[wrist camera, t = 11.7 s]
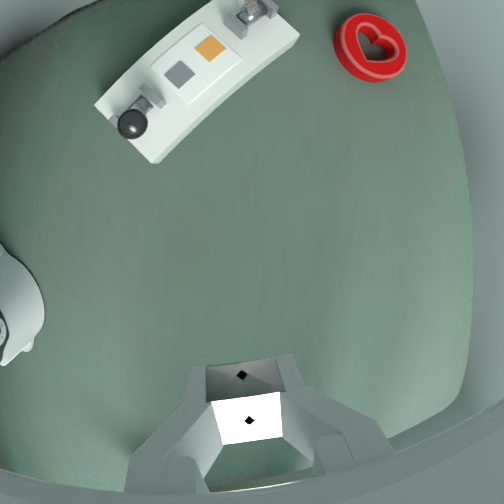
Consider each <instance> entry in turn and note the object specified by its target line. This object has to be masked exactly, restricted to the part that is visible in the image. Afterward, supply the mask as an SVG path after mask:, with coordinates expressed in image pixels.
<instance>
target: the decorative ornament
mask: <svg viewBox="0 0 504 504" xmlns="http://www.w3.org/2000/svg"><path fill="white" fill-rule="evenodd" d="M358 32H361V33H363V34H365V35H366V36H367V37H368V39H369V40H370V43H371V44H377V45H379V46H381V47H382V48H383V49H384V50H385V52H386V60H382V61H374V60H367V59H366V58H365V55H364V53H363V51H362V49H361V46H360V44H359V40H358ZM334 49H335V53H336V55H337V57H338V59H339V61H340V62H341V64H342V65H343V66H344V68H345V69H346V70H347V71H348V72H349V73H351V74H352V75H353V76H355V77H357V78H359V79H361V80H364V81H367V82H382V81H385V80H388V79H390V78H392V77H395V76H397V75H398V74H400V73H401V72H402V70H403V69H404V67H405V64H406V61H407V48H406V44H405V42H404V39H403V37H402V36H401V34H400V33H399V32H398V30H397V29H396V28H395V27H394V26H393V25H392V24H391V23H389V22H388V21H387V20H385V19H383V18H382V17H379V16H377V15H374V14H370V13H358V14H354V15H352V16H350V17H349V18H348V19H346V20H345V21H344V22H343V23H342V24H341V25H340V26H339V28H338V29H337V31H336V33H335V36H334Z"/></svg>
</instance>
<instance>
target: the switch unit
mask: <svg viewBox="0 0 504 504" xmlns="http://www.w3.org/2000/svg"><path fill="white" fill-rule="evenodd" d="M257 1H259V2H261V3H262V4H263V5H264V6H265V7H266V8H267V11H268V14H266V15H265V16H263V17H262V18H260V19H259V20H257V21H256V22H255V23H253V24H252V25H250V26H249V27H247V26H246V25H245V24H244V23H243V22H241V21H240V20H239V19H238V18H237V17H236V16H235V15H236V14H237V13H239V12H240V8H239V5H238V3H237V0H212V1H211V2H209V3H208V4H206V5H205V6H204V7H202V8H201V9H199V10H198V11H197V12H195V13H194V14H193V15H191V16H190V17H189V18H187V19H186V20H185V21H183V22H182V23H181V24H180V25H178V26H177V27H176V28H175V29H173V30H172V31H171V32H170V33H169V34H167V35H166V36H165V37H164V38H163V39H161V40H160V41H159V42H158V43H157V44H156V45H154V46H153V47H152V48H151V49H150V50H149V51H148V52H147V53H145V54H144V55H143V56H142V57H141V58H140V59H139V60H138V61H137V62H136V63H135V64H134V65H133V66H132V67H130V68H129V69H128V70H127V71H126V72H125V73H124V74H123V75H122V76H121V77H120V78H119V79H118V80H117V81H116V82H115V83H114V84H113V85H112V87H111V88H110V89H109V90H108V91H107V92H106V93H105V94H104V95H103V96H102V97H101V98H100V99H99V101H98V102H97V103H96V104H95V107H96V108H97V109H98V110H99V111H100V112H101V113H102V114H103V115H104V116H105V117H106V118H107V119H108V120H109V121H110V122H111V123H112V124H113V125H114V126H115V127H116V128H117V122H118V119H119V117H120V115H121V114H122V113H123V112H124V111H125V110H126V109H127V108H128V107H129V106H130V105H131V104H132V103H133V102H134V101H135V100H136V99H137V98H138V97H139V96H140V95H142V96H144V97H145V98H146V99H147V100H148V101H149V102H150V103H151V104H152V105H153V106H154V107H153V108H152V109H151V110H150V111H149V112H148V113H147V114H146V116H147V119H148V127H147V130H146V131H145V133H144V134H143V135H142V136H141V137H139V138H137V139H128V140H129V141H130V142H131V143H132V144H133V145H134V146H135V147H136V148H137V149H138V150H139V151H140V152H141V153H142V154H143V155H144V156H145V157H146V158H147V159H148V160H149V161H150V162H151V163H160V162H161V161H162V159H163V158H164V157H165V156H166V155H167V154H168V153H169V152H170V151H171V150H172V149H173V148H174V147H175V146H176V145H177V144H178V143H179V142H180V141H181V140H182V139H184V138H185V137H186V136H187V135H188V134H189V133H190V132H191V131H192V130H193V129H194V128H195V127H196V126H197V125H198V124H199V123H200V122H201V121H202V120H204V119H205V118H206V117H207V116H208V115H209V114H210V113H211V112H212V111H213V110H215V109H216V108H217V107H218V106H219V105H220V104H221V103H222V102H224V101H225V100H226V99H227V98H228V97H229V96H230V95H232V94H233V93H234V92H235V91H236V90H237V89H239V88H240V87H241V86H242V85H243V84H245V83H246V82H247V81H248V80H249V79H251V78H252V77H253V76H254V75H256V74H257V73H258V72H259V71H261V70H262V69H263V68H264V67H266V66H267V65H268V64H270V63H271V62H272V61H273V60H275V59H276V58H277V57H279V56H280V55H281V54H283V53H284V52H285V51H287V50H288V49H289V48H291V47H292V46H293V45H294V43H295V42H296V40H297V39H298V37H299V36H300V34H299V33H298V32H297V31H296V30H295V29H294V28H293V27H291V26H290V25H289V24H288V23H287V22H286V21H285V20H284V19H283V18H282V17H281V16H279V15H278V14H277V11H278V8H279V6H278V5H276V4H275V3H274V2H273V1H272V0H257ZM117 129H118V128H117Z"/></svg>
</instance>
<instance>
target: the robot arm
mask: <svg viewBox="0 0 504 504" xmlns="http://www.w3.org/2000/svg"><path fill="white" fill-rule="evenodd" d="M43 322H44V304H43V299H42V296H41V293H40V290H39V288H38V286H37V284H36V282H35V280H34V278H33V277H32V275H31V274H30V273H29V271H28V270H27V269H26V268H25V267H24V266H23V265H22V264H21V263H20V262H19V261H18V260H16V259H15V258H13V257H12V256H10V255H9V254H8V253H7V252H6V250H5V249H4V248H3V246H2V245H1V244H0V365H2V366H4V365H6V364H8V363H9V362H10V361H11V360H12V359H13V358H14V357H15V356H16V355H17V354H18V353H20V352H21V351H25V352H28V351H30V350H31V349H32V347H33V343H34V337H35V336H36V334H37V333H38V332H39V331H40V329H41V327H42V325H43ZM279 436H282V437H283V438H284V439H285V440H286V441H287V442H289V443H290V444H291V445H292V446H293V447H294V448H296V449H297V450H298V451H299V452H301V453H302V454H303V455H304V456H305V457H307V458H308V459H309V460H310V461H312V462H313V472H312V478H308V479H304V480H299V481H295V482H289V483H284V484H279V485H273V486H266V487H260V488H253V489H245V490H237V491H226V492H214V493H210V492H209V490H208V488H207V486H206V484H205V481H204V479H203V478H204V477H205V475H206V474H207V472H208V471H209V469H210V467H211V466H212V464H213V462H214V461H215V459H216V458H217V456H218V454H219V453H220V451H221V449H222V448H223V444H231V443H238V442H244V441H250V440H252V439H253V440H258V439H266V438H273V437H279ZM0 504H504V398H503V399H501V400H499V401H497V402H496V403H494V404H493V405H491V406H490V407H488V408H486V409H484V410H483V411H481V412H479V413H477V414H476V415H474V416H472V417H470V418H468V419H466V420H465V421H463V422H461V423H459V424H457V425H455V426H453V427H451V428H449V429H447V430H445V431H443V432H441V433H439V434H437V435H435V436H433V437H430V438H428V439H426V440H424V441H421V442H419V443H417V444H414V445H412V446H410V447H407V448H405V449H402V450H400V451H397V452H394V451H393V449H392V447H391V445H390V444H389V442H388V440H387V438H386V437H385V435H384V433H383V432H382V430H381V428H380V426H379V425H378V423H377V421H376V420H374V419H372V418H370V417H368V416H366V415H364V414H361V413H359V412H357V411H356V410H354V409H352V408H350V407H348V406H346V405H344V404H342V403H340V402H338V401H336V400H334V399H332V398H330V397H328V396H327V395H325V394H323V393H321V392H319V391H317V390H315V389H314V388H312V387H308V388H306V387H305V385H304V382H303V380H302V378H301V375H300V373H299V370H298V368H297V365H296V363H295V360H294V358H293V355H292V354H291V353H288V354H283V355H278V356H274V357H270V358H264V359H258V360H251V361H245V362H235V363H226V364H216V365H206V366H196V367H189V369H188V374H187V388H186V404H185V405H180V406H179V407H178V408H177V409H176V410H175V411H174V412H173V413H172V414H171V415H170V416H169V417H168V418H167V419H166V421H165V422H164V423H163V424H162V425H161V426H160V427H159V428H158V429H157V430H156V431H155V432H154V433H153V434H152V435H151V436H150V437H149V438H148V439H147V440H146V441H145V442H144V443H143V444H142V445H141V446H140V447H139V448H138V449H137V450H135V451H134V452H133V453H132V454H131V455H130V460H129V465H128V471H127V477H126V483H125V489H124V492H115V491H105V490H97V489H89V488H82V487H76V486H70V485H64V484H59V483H54V482H49V481H45V480H41V479H36V478H32V477H28V476H25V475H21V474H17V473H14V472H10V471H7V470H4V469H1V468H0Z"/></svg>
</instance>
